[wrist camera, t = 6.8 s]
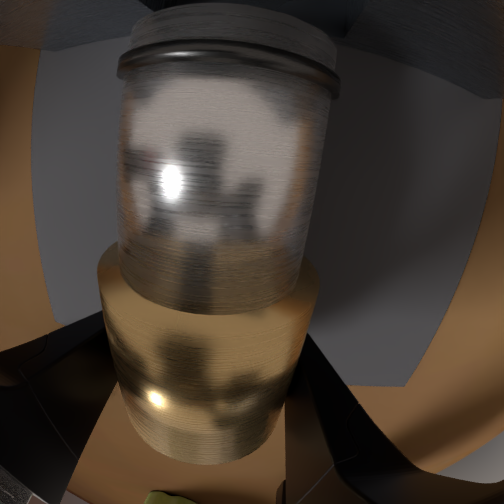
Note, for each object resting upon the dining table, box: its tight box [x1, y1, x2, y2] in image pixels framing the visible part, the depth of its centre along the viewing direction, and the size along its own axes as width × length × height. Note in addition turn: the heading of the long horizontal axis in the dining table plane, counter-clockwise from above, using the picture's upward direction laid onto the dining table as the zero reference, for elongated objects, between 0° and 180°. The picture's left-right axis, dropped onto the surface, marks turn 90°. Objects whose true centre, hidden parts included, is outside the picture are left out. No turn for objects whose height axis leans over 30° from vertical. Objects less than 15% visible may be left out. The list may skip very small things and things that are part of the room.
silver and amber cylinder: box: [97, 3, 341, 465], centre depth 7 cm, size 5×10×5 cm, turn 173°
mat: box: [31, 36, 502, 387], centre depth 8 cm, size 18×22×1 cm
